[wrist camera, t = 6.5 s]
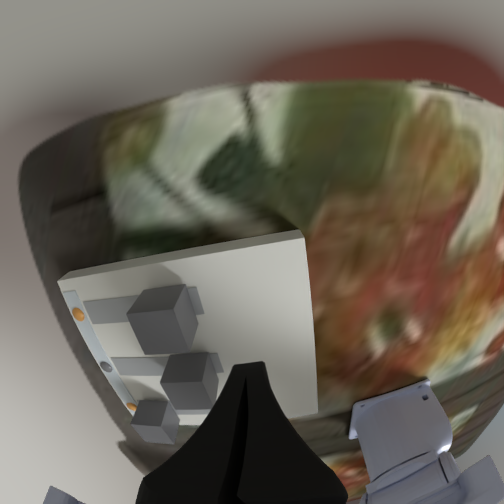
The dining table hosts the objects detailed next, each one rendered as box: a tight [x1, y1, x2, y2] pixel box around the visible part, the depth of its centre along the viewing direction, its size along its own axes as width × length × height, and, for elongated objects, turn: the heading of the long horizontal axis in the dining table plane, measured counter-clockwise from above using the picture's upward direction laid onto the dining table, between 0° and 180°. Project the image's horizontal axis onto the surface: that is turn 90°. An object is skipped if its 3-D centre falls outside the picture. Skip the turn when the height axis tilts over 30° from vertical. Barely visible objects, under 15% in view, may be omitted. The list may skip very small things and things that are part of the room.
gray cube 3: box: [126, 284, 199, 355], centre depth 16 cm, size 3×3×3 cm
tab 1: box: [131, 400, 180, 444], centre depth 20 cm, size 3×3×3 cm
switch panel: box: [57, 229, 318, 425], centre depth 20 cm, size 18×17×2 cm
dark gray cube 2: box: [160, 352, 219, 410], centre depth 17 cm, size 3×3×3 cm
